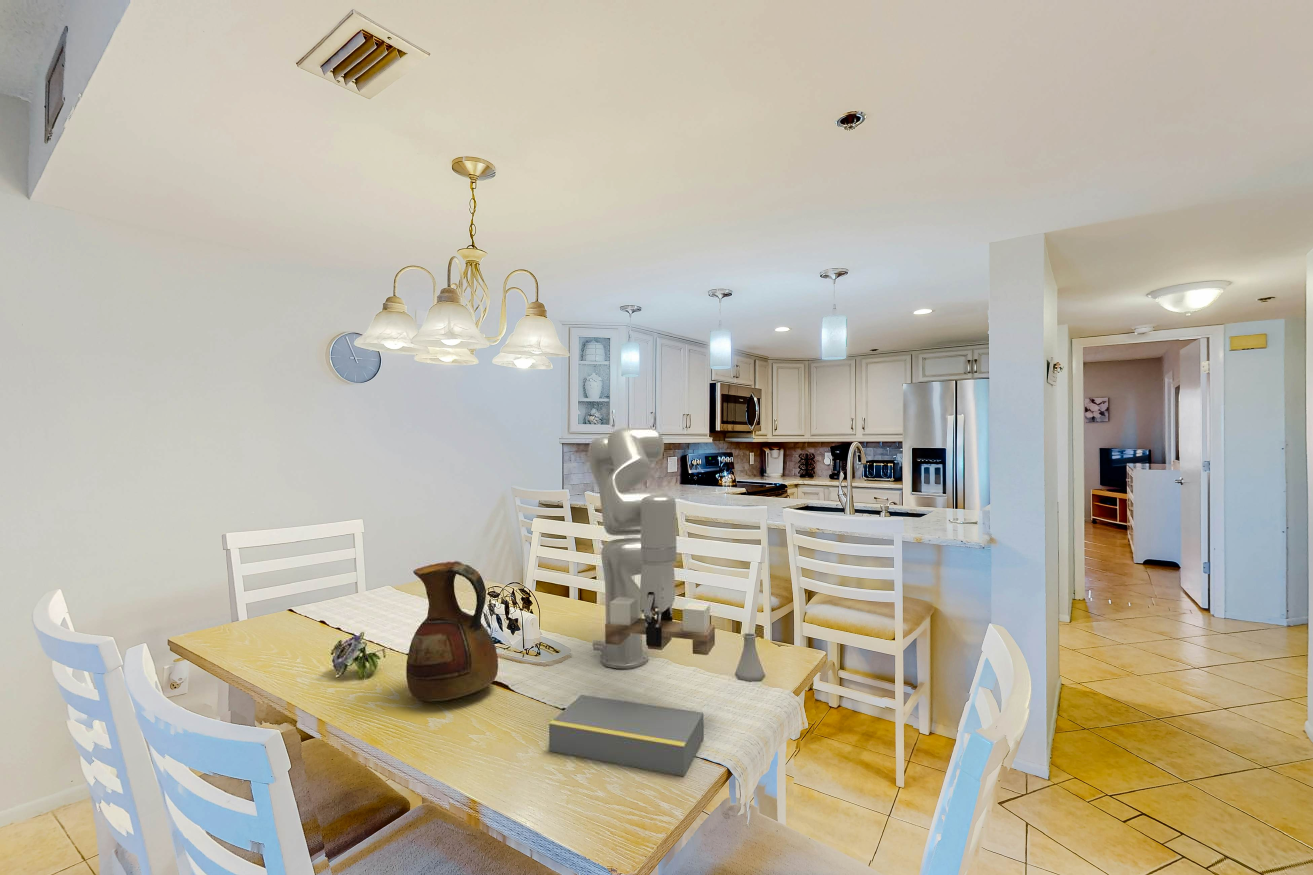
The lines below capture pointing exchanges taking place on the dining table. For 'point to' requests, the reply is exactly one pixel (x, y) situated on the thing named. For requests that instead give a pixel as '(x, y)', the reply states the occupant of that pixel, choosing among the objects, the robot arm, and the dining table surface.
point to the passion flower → (354, 656)
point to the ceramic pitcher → (450, 639)
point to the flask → (749, 661)
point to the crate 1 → (623, 611)
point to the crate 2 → (696, 617)
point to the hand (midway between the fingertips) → (659, 639)
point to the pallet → (669, 629)
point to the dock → (628, 734)
